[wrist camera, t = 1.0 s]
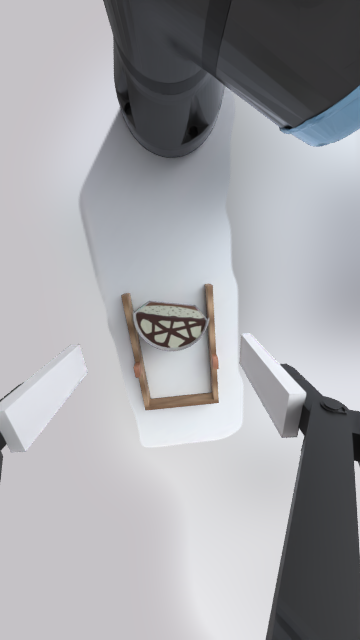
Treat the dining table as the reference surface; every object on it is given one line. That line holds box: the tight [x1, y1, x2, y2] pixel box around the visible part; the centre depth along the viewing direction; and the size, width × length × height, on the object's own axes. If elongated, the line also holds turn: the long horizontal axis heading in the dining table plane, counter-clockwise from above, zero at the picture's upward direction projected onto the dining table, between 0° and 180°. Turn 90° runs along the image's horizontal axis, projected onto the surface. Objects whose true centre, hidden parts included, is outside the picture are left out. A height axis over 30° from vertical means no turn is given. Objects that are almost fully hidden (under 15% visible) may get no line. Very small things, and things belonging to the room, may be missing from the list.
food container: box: [133, 301, 209, 351], centre depth 32 cm, size 12×6×10 cm, turn 84°
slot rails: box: [121, 284, 219, 410], centre depth 37 cm, size 27×17×4 cm, turn 6°
